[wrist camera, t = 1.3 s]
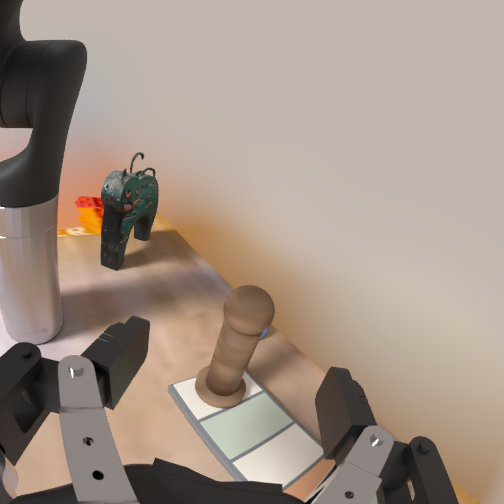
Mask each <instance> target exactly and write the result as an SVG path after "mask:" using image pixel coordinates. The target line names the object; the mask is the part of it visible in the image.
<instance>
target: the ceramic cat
mask: <svg viewBox="0 0 504 504" xmlns="http://www.w3.org/2000/svg"><path fill="white" fill-rule="evenodd" d="M138 155H141V157H142V159H143V158H144V154H143V153H140V152H139V153H136V154H135V155H134V157H133V159H132V163H131V167H130V173H126V169H124V171H123V172H122V171H113V172H111V173H110V174H109V175H108V176H107V177H106V179H105V181H104V184H103V188H102V192H101V201H102V203H103V205H104V214H103V222H102V228H101V265H103V266H105V267H108V268H110V269H113V270H117V269H118V268H119V267H120V266H121V265H122V264H123V259H124V254H125V249H126V244H127V241H128V239H129V235H130V231H131V229H132V228H133V226H134V238H136V239H139V240H142V241H145V240H147V239H148V238H149V236H150V232H151V228H152V225H153V222H154V218H155V215H156V211H157V206H158V183H157V180H156V178H155V170H154V169H152V168H146V169H145V170H143V171H137V172H135V173H132V166H133V162H134V160H135V158H136V157H137V156H138ZM147 170H152V171H153V176H150V175H146V174H144V173H145V172H146V171H147Z"/></svg>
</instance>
